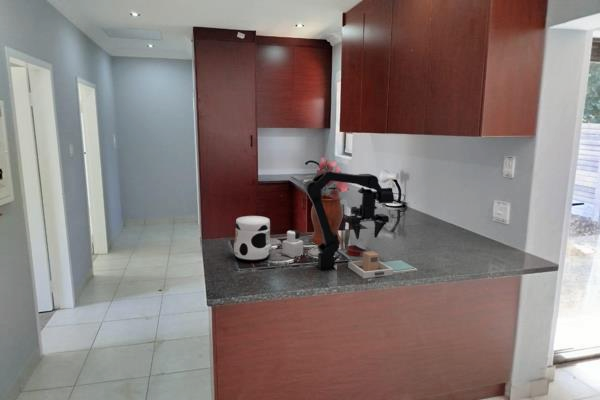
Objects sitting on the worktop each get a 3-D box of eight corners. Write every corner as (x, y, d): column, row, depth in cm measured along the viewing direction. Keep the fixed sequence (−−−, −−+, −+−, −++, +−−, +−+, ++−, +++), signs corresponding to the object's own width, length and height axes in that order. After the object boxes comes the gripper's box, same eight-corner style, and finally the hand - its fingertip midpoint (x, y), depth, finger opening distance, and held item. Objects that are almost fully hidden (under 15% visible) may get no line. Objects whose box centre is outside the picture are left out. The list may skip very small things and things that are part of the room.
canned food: (352, 259, 204) (357, 240, 206) (368, 262, 197) (373, 242, 199) (339, 253, 197) (344, 233, 199) (355, 256, 189) (361, 235, 192)
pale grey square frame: (364, 279, 165) (365, 273, 165) (348, 267, 179) (348, 261, 178) (394, 275, 170) (394, 269, 170) (375, 264, 184) (375, 258, 183)
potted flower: (323, 233, 233) (326, 155, 225) (355, 244, 213) (360, 158, 205) (297, 238, 221) (299, 155, 213) (328, 250, 202) (332, 160, 193)
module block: (368, 273, 172) (369, 255, 170) (362, 269, 176) (363, 251, 175) (378, 272, 173) (379, 254, 172) (372, 268, 178) (373, 251, 177)
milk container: (229, 253, 192) (229, 216, 189) (264, 250, 199) (265, 214, 196) (239, 265, 177) (239, 225, 173) (276, 261, 183) (277, 222, 180)
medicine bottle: (291, 252, 198) (292, 228, 195) (303, 255, 193) (304, 230, 191) (282, 255, 192) (282, 230, 190) (293, 258, 188) (294, 233, 186)
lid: (391, 274, 172) (392, 271, 172) (376, 264, 183) (377, 262, 183) (417, 271, 177) (417, 268, 176) (401, 262, 188) (401, 259, 187)
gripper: (376, 199, 186) (374, 232, 189) (340, 200, 179) (338, 235, 181) (390, 203, 176) (388, 238, 179) (353, 205, 169) (351, 242, 171)
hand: (366, 238), depth 178 cm, fingers open, 9 cm apart
